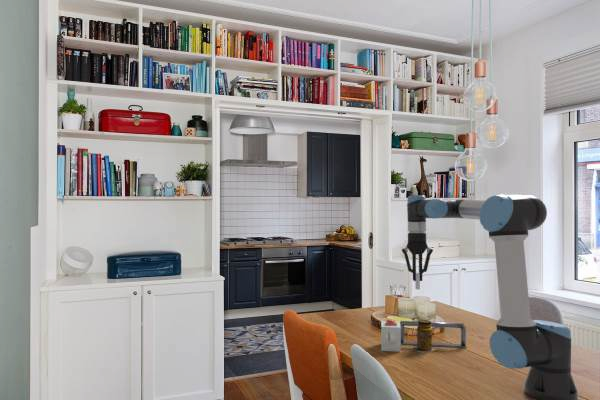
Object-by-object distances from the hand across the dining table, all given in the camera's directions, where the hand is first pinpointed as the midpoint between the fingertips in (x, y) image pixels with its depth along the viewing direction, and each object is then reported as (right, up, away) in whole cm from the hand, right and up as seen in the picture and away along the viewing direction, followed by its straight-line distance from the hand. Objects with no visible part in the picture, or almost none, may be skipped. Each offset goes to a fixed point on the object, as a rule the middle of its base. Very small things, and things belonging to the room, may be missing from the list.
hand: (417, 288), depth 198 cm
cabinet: (-10, -26, +5) cm, 29 cm away
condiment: (+3, -27, +3) cm, 27 cm away
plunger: (-10, -24, +5) cm, 26 cm away
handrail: (+9, -26, +9) cm, 29 cm away
